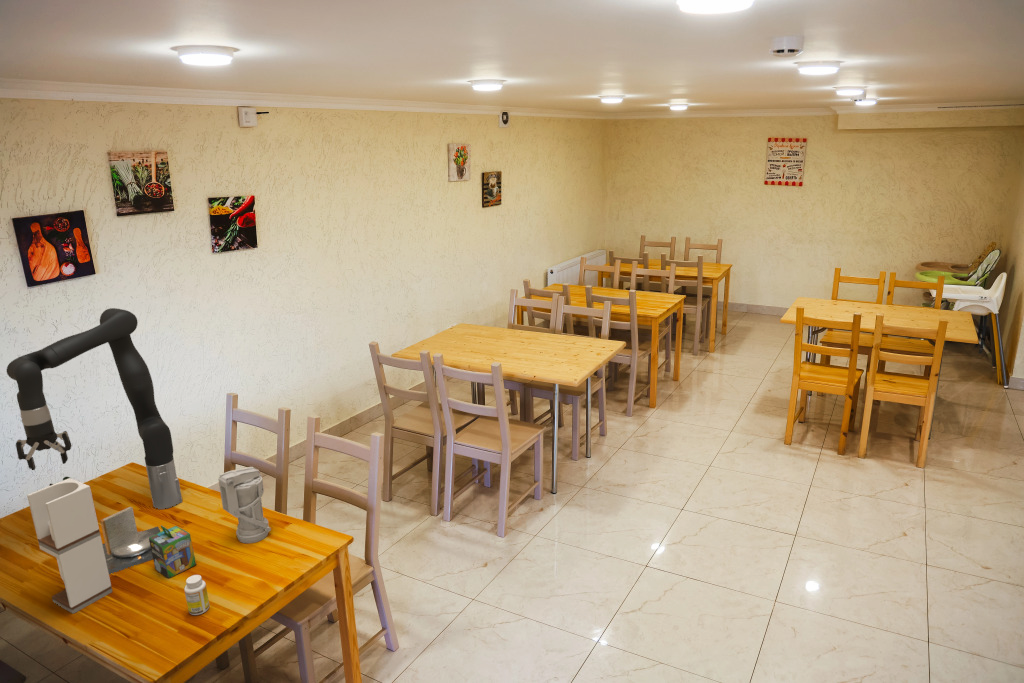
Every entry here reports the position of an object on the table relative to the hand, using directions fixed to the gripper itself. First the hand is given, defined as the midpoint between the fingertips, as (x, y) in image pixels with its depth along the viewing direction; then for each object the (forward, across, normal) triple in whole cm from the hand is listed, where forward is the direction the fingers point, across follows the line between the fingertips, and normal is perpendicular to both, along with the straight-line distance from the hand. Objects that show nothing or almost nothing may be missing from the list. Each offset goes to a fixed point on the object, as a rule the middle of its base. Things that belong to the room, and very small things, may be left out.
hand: (49, 465), depth 222 cm
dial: (+28, -19, +16) cm, 37 cm away
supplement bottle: (+30, -38, +58) cm, 75 cm away
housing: (+30, -20, +15) cm, 39 cm away
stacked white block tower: (+29, -7, +35) cm, 46 cm away
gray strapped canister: (+31, -55, +24) cm, 67 cm away
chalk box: (+30, -32, +31) cm, 54 cm away
